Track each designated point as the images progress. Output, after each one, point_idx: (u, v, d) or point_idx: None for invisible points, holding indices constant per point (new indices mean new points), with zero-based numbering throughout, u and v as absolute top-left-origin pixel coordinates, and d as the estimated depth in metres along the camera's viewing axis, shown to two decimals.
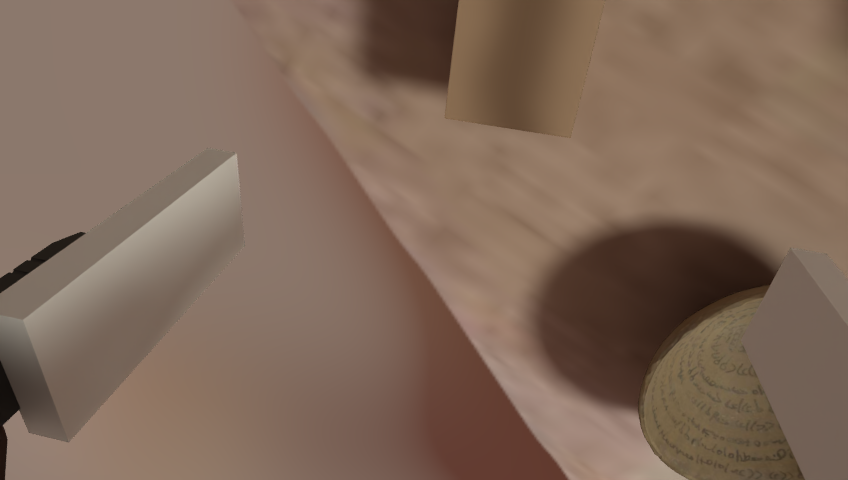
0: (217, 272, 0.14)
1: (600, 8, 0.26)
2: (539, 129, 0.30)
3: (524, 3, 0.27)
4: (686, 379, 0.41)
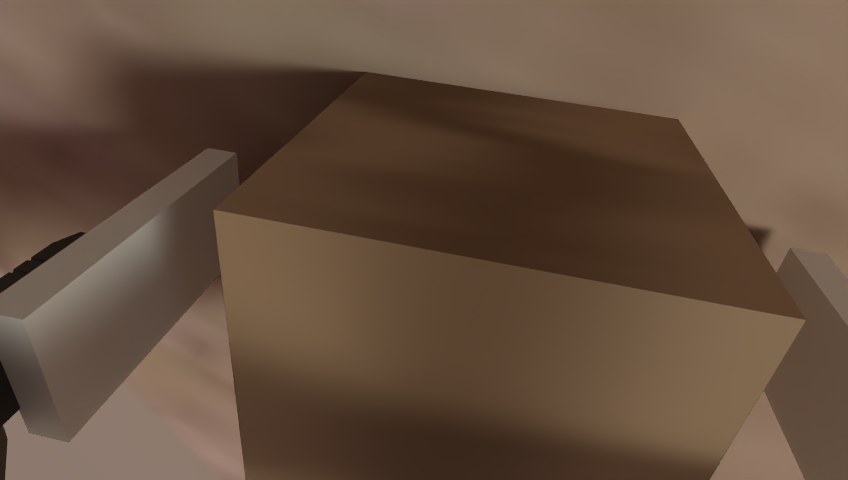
0: (217, 272, 0.14)
1: (778, 343, 0.06)
2: None
3: (464, 300, 0.07)
4: None
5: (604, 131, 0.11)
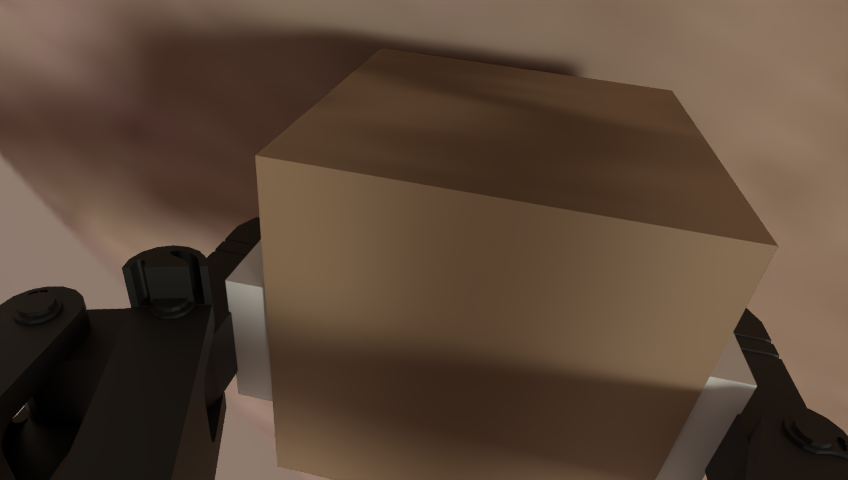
0: None
1: (754, 269, 0.07)
2: None
3: (478, 236, 0.08)
4: None
5: (602, 100, 0.12)
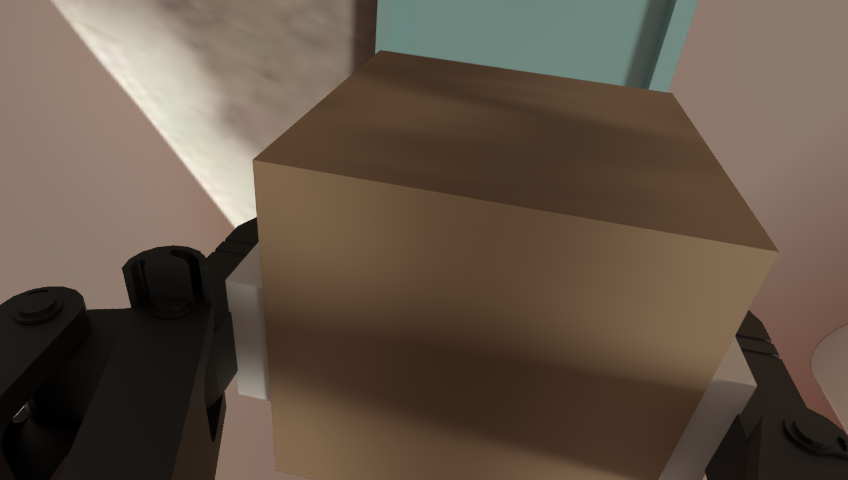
0: None
1: (755, 275, 0.07)
2: None
3: (477, 241, 0.08)
4: None
5: (603, 103, 0.12)
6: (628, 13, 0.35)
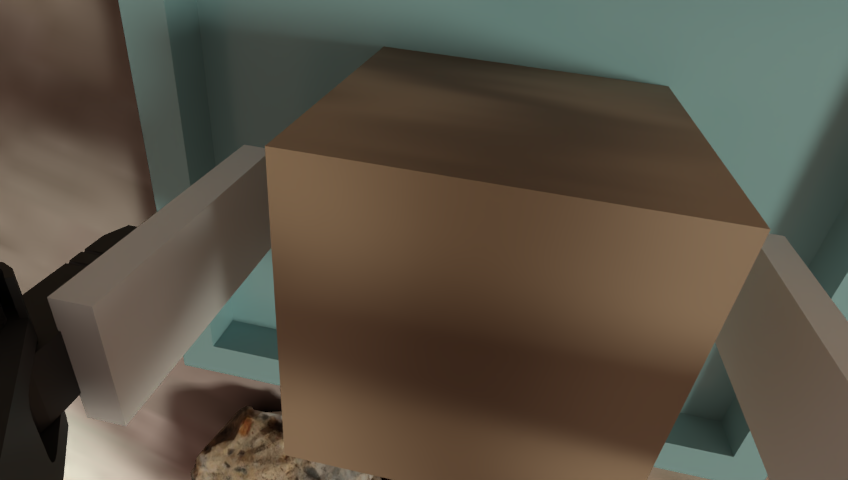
0: (253, 265, 0.14)
1: (748, 252, 0.07)
2: None
3: (481, 222, 0.08)
4: None
5: (601, 95, 0.12)
6: (756, 172, 0.14)
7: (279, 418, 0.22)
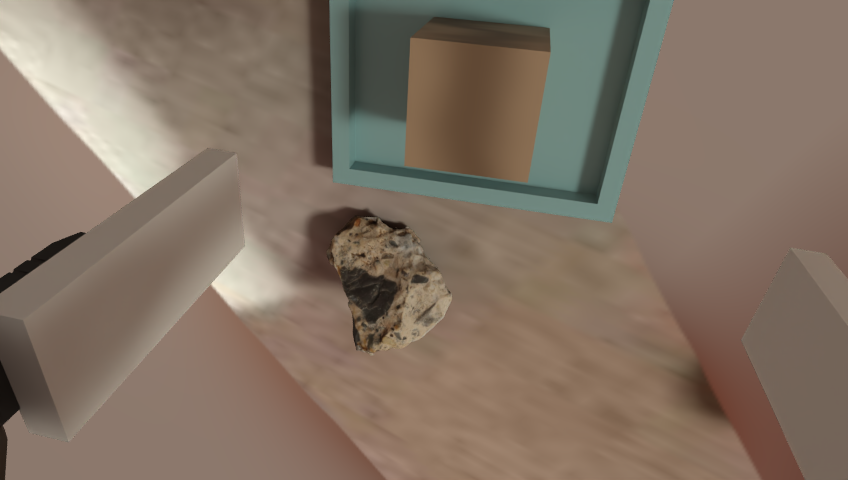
0: (217, 272, 0.14)
1: (546, 60, 0.27)
2: (496, 175, 0.30)
3: (473, 57, 0.28)
4: None
5: (519, 29, 0.32)
6: (589, 63, 0.33)
7: (374, 219, 0.41)
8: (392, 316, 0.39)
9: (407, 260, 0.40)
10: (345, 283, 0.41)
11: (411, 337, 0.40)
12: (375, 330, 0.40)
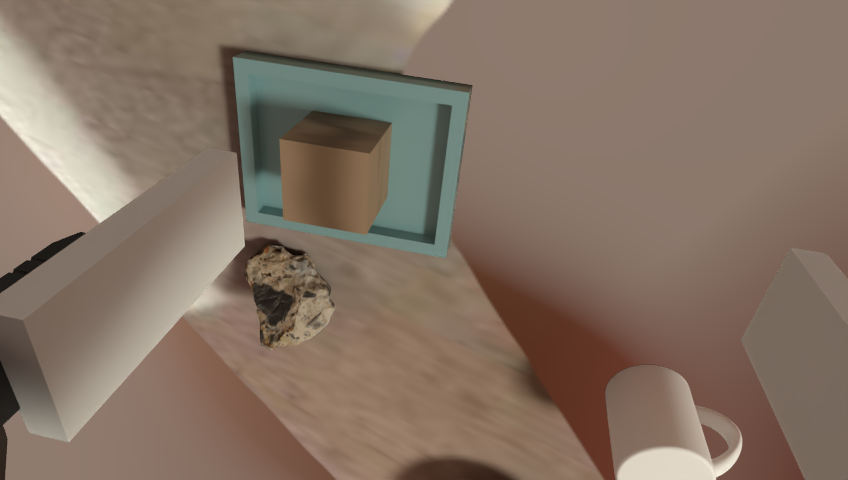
0: (217, 272, 0.14)
1: (367, 158, 0.41)
2: (345, 229, 0.44)
3: (321, 153, 0.41)
4: None
5: (366, 126, 0.45)
6: (421, 147, 0.47)
7: (280, 247, 0.55)
8: (288, 321, 0.53)
9: (302, 279, 0.54)
10: (255, 295, 0.54)
11: (303, 337, 0.54)
12: (276, 331, 0.53)
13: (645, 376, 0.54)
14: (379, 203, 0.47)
